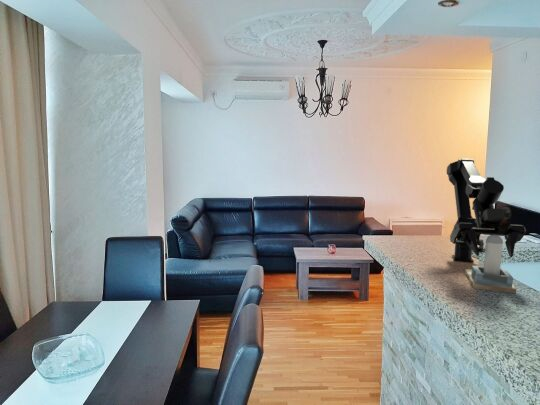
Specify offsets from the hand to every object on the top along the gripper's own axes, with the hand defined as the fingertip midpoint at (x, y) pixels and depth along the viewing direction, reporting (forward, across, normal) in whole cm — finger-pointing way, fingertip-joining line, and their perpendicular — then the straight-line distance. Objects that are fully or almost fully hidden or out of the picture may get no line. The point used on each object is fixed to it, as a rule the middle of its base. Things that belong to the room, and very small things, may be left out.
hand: (494, 255), depth 117 cm
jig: (+4, 0, +9) cm, 10 cm away
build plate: (-27, +10, +41) cm, 50 cm away
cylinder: (+5, 0, +7) cm, 8 cm away
